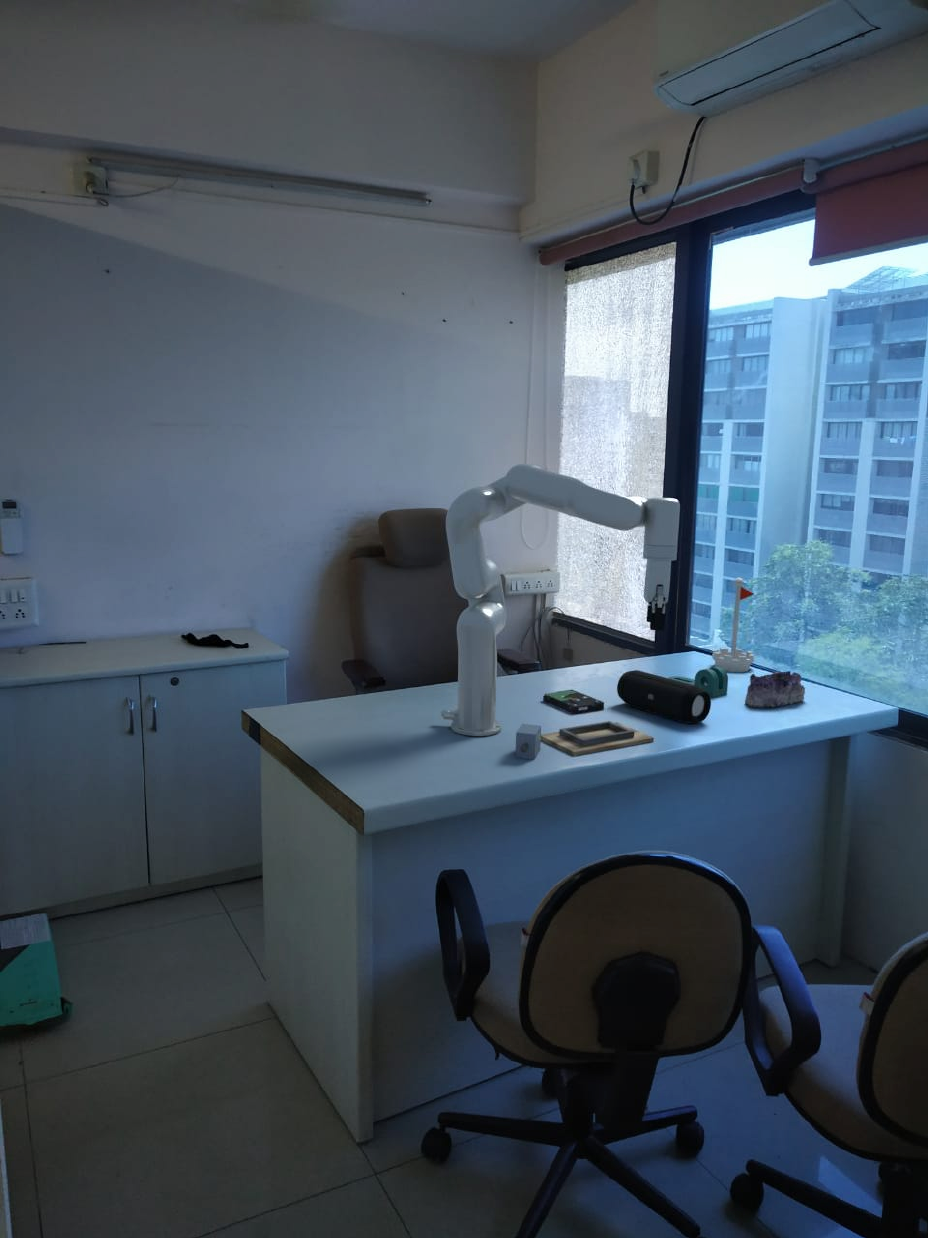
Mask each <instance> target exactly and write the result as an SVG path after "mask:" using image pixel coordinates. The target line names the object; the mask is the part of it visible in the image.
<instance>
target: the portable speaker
mask: <svg viewBox="0 0 928 1238" xmlns="http://www.w3.org/2000/svg"><path fill="white" fill-rule="evenodd" d="M616 693H617V696H618V697H619V699H620V700H622V701H623V702H624V703H625V704H626V705H628V706H631V707H633V708H637V709H641V710H643V711H647V712H650V713H653V714H657V715H659V716H663V717H666V718H669V719H671V720H675V721H680V722H683V723H686V724H689V725H690V724H695V723H696V724H697V723H701V722H704V721H705V720H706V719H707V717H708V716H709V713H710V711H711V706H712V699H711V697H710V696H709V694H708V693H707V692H706V691H704V690H703V689H702V688H700V687H698V686H695V685H691V684H688V683H684V682H680V681H676V680H673V679H669V677H664V676H662V675H661V676H660V675H657V674H653V673H649V672H645V671H642V670H637V669H636V670H635V669H634V670H630V671H626V672H624V673H623V674H622V675H621V676H620V677H619V679H618V682H617V686H616Z"/></svg>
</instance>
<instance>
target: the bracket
mask: <svg viewBox="0 0 928 1238" xmlns="http://www.w3.org/2000/svg"><path fill="white" fill-rule="evenodd" d="M668 678H669V679H673V680H676V681H680V682H684V683H688V684H691V685H695V686H698V687H700V688H702V689H703V690H704V691H706V692H707V693H708V694H709V696H710V699H711V698H712V699H716V698H719V697H722V696H727V695H728V687H729V685H728V683H729V677H728V673H727V671H725V670H724V669H723V668H721V667H715V666H712V667H709V668H705V669H704V668H703V669H700V670H698V671H697V672H696V673H695V676H694V678H689V677H685V676H678V675H677V676H676V675H674V676H669V677H668Z"/></svg>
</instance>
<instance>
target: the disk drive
mask: <svg viewBox="0 0 928 1238" xmlns="http://www.w3.org/2000/svg"><path fill="white" fill-rule="evenodd" d="M542 698H543V699H542V701H543V702H544V703H546V704H549V705H551V706H554V707H556V708H558V709H560V708H561V710H563V711H565V712H568V713H570V714H572V715H578V714H579V715H581V714H586V713H593V711H594V712H599V710H600V711H604V710H605V702H604V701H602V700H600V699H597V698H594V697H592V696H589V695H588V694H587V695H586V694H585V693H581V692H580V691H577V690H574V689H568V690H567V689H565V690H560V691H556V692H550V693H547V692H546V693H544V695H543V696H542Z"/></svg>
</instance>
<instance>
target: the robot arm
mask: <svg viewBox="0 0 928 1238" xmlns="http://www.w3.org/2000/svg"><path fill="white" fill-rule="evenodd" d="M526 504H531V505H534V506H538V507H542V508H544V509H548V510H552V511H554V512H558V513H561V514H565V515H567V516H570V517H574V518H578V519H581V520H584V521H586V522H590V523H592V524H596V525H600V526H603V527H607V528H610V529H614V530H617V531H621V532H623V531H625V532H627V531H631V530H634V529H635V528H643V527H644V532H643V533H644V534H643V535H644V537H643V552H642V559H644V560H646V565H645V574H644V575H645V576H644V587H643V600H645V602H646V603H647V604H648V605H647V606H646V609H647V611H646V622H647V623H649V630H650V631H665V627H666V626H665V625H666V604H667V603H668V602H669V593H670V582H671V570H672V569H671V567H672V561H677V556H678V555H677V554H678V541H679V540H678V539H679V528H680V527H679V526H680V525H679V524H680V510H681V504H680V501H679V500H678V499H676V498H671V497H652V498H651V497H649V498H647V497H643V496H639V495H638V496H637V495H630V494H629V495H625V496H624V495H620V494H616V493H612V492H609V491H604V490H601V489H598V488H595V487H593V486H590V485H588V484H586V483H584V481H582V480H581V479H578V478H575V477H573V476H569V475H564V474H560V473H558V472H555V471H554V472H553V471H550V470H546V469H543V468H541V467H539V466H538V465H535V464H532V463H519V464H516V465H514V466H512V467H511V468H509V470H508V471H507V473H506V474H505V475H504V476H503V477H501V478H499V479H497V480H495V481H493V482H491V483H489V484H487V485H485V486H477V487H472V488H469V489H468V490H466V491H464V492H462V493H461V494H460V495H458V497H457V498H456V497H455V499H454V500H453V501H452V503H451V504H450V506H449V508H448V510H447V513H446V517H445V532H446V538H447V543H448V549H449V550H448V551H449V558H450V564H451V565H450V566H451V571H452V577H453V578H452V579H453V584H454V589H455V591H456V593H457V595H458V596H460V597H461V598H463V599H466V600H467V601H468V607H466V608H465V609H464V610H463V611H462V612H461V614H460V615H459V618H458V620H457V624H456V639H457V650H458V655H457V657H458V659H457V660H458V661H457V662H458V667H457V669H458V670H457V671H458V674H457V676H458V677H457V709H454V710H450V709H441V713H440V714H441V715H440V716H441V718H443V720H451V721H452V722H451V724H450V729H451V730H452V732H455V734H459V735H463V736H469V737H470V736H471V737H484V736H485V737H488V736H492V735H496V734H498V733H500V732H501V731H502V724H501V723H500V722H499V721H497V720H496V713H497V712H496V707H497V678H498V677H497V673H498V668H497V667H498V665H497V663H498V656H497V655H498V652H497V644H496V643H497V641H496V639H497V638H496V637H497V635H498V634H499V633H501V632H502V630H503V629H504V628H505V625H506V624H507V607H506V602H505V595H504V589H503V582H502V576H501V573H500V569H499V567H498V566H497V565H496V563H495V562H494V561H493V560H491V559H489V558H487V557H486V553H485V544H484V540H483V536H482V533H481V525H482V524H483V523H486V522H487V523H488V522H491V521H495V520H497V519H499V518H501V517H503V516H506V515H507V514H509V513H511V512H512V511H514V510H517V509H518V508H520V507H523V506H524V505H526Z"/></svg>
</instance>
